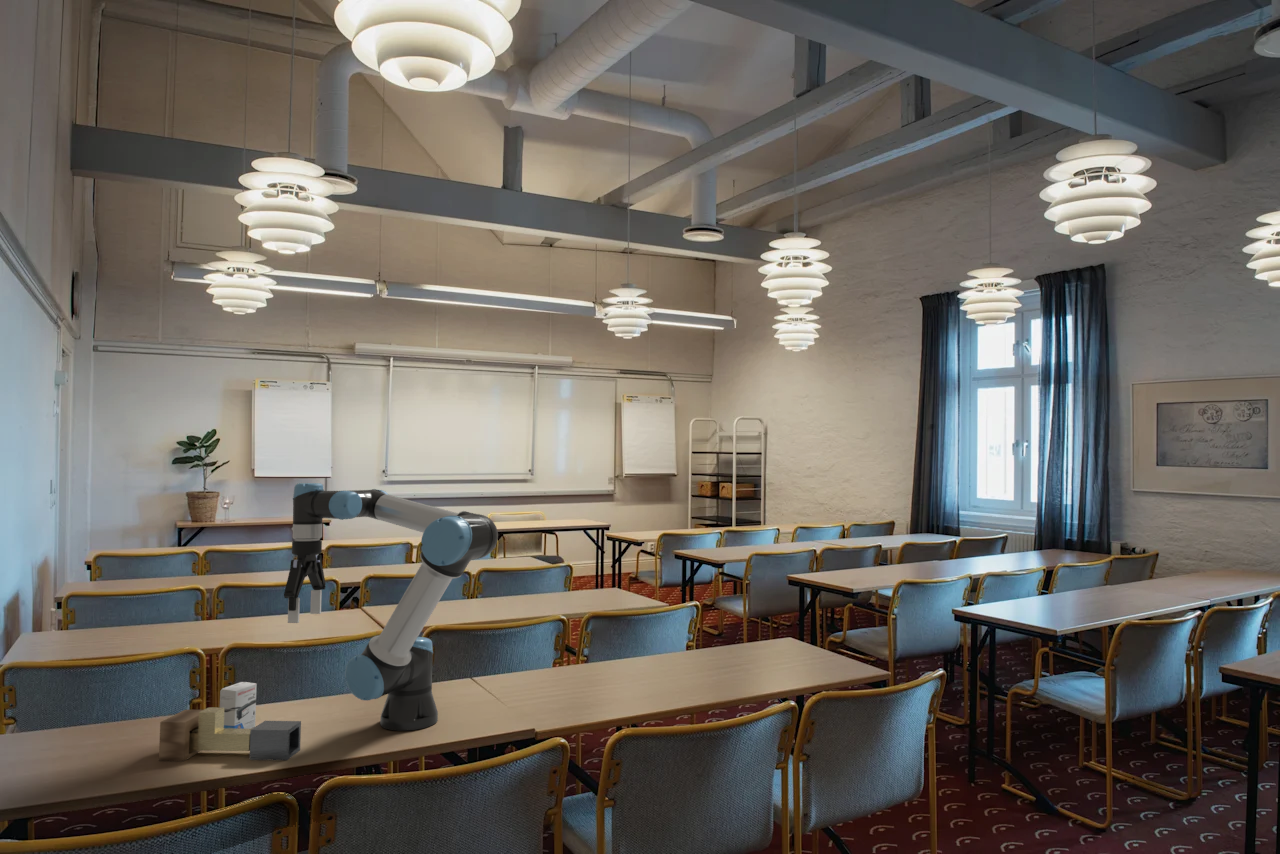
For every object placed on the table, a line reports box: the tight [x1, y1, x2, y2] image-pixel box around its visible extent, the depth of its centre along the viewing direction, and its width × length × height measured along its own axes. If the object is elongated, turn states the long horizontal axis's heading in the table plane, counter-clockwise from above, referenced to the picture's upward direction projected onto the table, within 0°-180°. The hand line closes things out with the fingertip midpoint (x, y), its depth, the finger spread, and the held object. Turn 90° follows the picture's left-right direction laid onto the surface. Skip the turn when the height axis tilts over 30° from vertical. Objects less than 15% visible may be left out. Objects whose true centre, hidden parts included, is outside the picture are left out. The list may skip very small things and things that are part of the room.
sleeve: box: [249, 720, 302, 761], centre depth 193 cm, size 9×7×7 cm
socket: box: [158, 709, 204, 762], centre depth 194 cm, size 6×10×9 cm, turn 179°
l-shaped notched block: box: [189, 706, 252, 752], centre depth 193 cm, size 17×4×9 cm, turn 89°
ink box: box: [219, 681, 257, 729], centre depth 210 cm, size 8×5×12 cm, turn 168°
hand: (304, 618), depth 216 cm, fingers open, 13 cm apart
